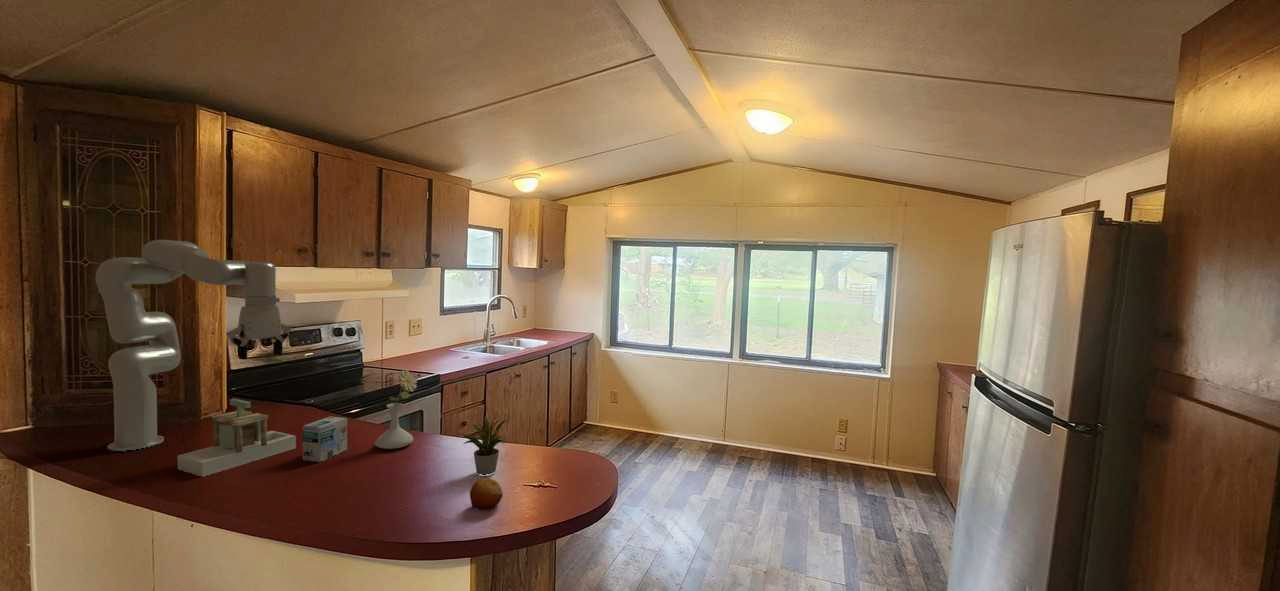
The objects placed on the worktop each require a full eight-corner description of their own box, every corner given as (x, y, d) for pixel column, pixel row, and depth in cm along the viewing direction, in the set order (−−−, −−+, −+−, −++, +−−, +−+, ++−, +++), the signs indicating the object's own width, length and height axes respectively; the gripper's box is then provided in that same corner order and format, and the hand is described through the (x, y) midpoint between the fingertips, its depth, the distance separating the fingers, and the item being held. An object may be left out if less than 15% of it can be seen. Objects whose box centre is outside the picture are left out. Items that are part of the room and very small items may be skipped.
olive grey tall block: (218, 445, 146) (217, 402, 146) (245, 437, 153) (245, 396, 152) (234, 449, 143) (234, 405, 143) (262, 441, 150) (261, 399, 150)
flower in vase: (388, 454, 154) (389, 376, 153) (367, 447, 160) (367, 372, 159) (425, 443, 166) (425, 370, 165) (404, 436, 171) (404, 366, 170)
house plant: (493, 458, 154) (494, 407, 153) (523, 469, 146) (524, 415, 145) (452, 472, 142) (453, 417, 141) (482, 485, 134) (483, 426, 133)
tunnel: (211, 445, 147) (211, 416, 146) (242, 438, 154) (241, 409, 154) (238, 452, 142) (238, 422, 142) (268, 444, 149) (268, 415, 149)
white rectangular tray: (177, 469, 139) (177, 455, 139) (271, 442, 162) (271, 430, 162) (202, 477, 134) (202, 462, 134) (295, 448, 158) (295, 435, 157)
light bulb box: (320, 462, 147) (320, 427, 146) (301, 460, 148) (301, 425, 147) (348, 450, 157) (348, 417, 157) (330, 448, 158) (330, 415, 158)
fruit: (466, 494, 125) (483, 468, 125) (493, 509, 126) (509, 483, 126) (457, 509, 117) (475, 481, 117) (486, 525, 118) (503, 497, 118)
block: (225, 446, 147) (225, 430, 147) (244, 441, 151) (244, 425, 151) (236, 449, 145) (236, 432, 145) (254, 443, 150) (254, 427, 149)
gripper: (282, 300, 160) (282, 352, 161) (220, 302, 145) (220, 359, 145) (297, 301, 157) (297, 354, 158) (235, 303, 142) (235, 362, 142)
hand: (260, 356), depth 152 cm, fingers open, 9 cm apart
